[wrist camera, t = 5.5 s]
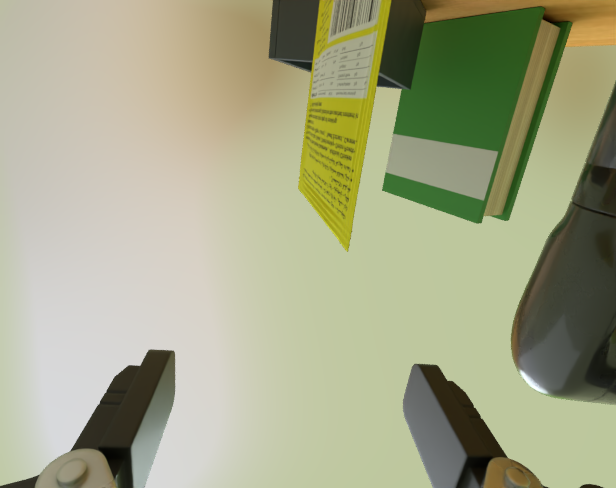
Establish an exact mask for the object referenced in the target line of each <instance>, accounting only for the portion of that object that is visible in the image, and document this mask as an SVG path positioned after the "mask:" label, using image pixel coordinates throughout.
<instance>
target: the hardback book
mask: <svg viewBox="0 0 616 488" xmlns="http://www.w3.org/2000/svg"><path fill="white" fill-rule="evenodd" d="M544 11H545V8H543V7H535V8H528V9H521V10H514V11H507V12H500V13H493V14H486V15H479V16H472V17H466V18H459V19H452V20H445V21H438V22H431V23H424V26H423V31H422V36H421V41H420V46H419V51H418V56H417V61H416V66H415V71H414V76H413V80H412V85H411V90H408V89H402V91H401V96H400V102H399V106H398V112H397V117H396V122H395V127H394V132H393V137H392V142H391V147H390V153H389V158H388V163H387V168H386V173H385V178H384V184H383V189H382V191H385V192H388V193H391V194H394V195H397V196H400V197H403V198H405V199H408V200H411V201H414V202H417V203H420V204H423V205H426V206H428V207H431V208H434V209H437V210H440V211H443V212H446V213H448V214H452V215H455V216H457V217H460V218H463V219H466V220H469V221H471V222H474V223H482V219H483V216H492V217H495V218H498V219H501V220H504V221H508V220H509V218H510V215H511V212H512V208H513V206H514V202H515V199H516V196H517V193H518V190H519V187H520V184H521V181H522V178H523V175H524V172H525V169H526V165H527V162H528V159H529V156H530V153H531V150H532V147H533V144H534V141H535V137H536V135H537V131H538V128H539V125H540V122H541V119H542V116H543V113H544V110H545V107H546V104H547V101H548V97H549V94H550V91H551V88H552V85H553V82H554V79H555V76H556V73H557V70H558V67H559V63H560V61H561V57H562V54H563V51H564V48H565V45H566V42H567V39H568V36H569V33H570V30H571V27H572V24H573V23H571V22H569V21H567V22H558V23H549V22H547V21H545V20H543V19H542V18H543V15H544Z"/></svg>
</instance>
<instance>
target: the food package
mask: <svg viewBox="0 0 616 488" xmlns="http://www.w3.org/2000/svg"><path fill="white" fill-rule="evenodd" d="M390 6H391V0H320V3H319V12H318V20H317V29H316V38H315V46H314V55H313V63H312V72H311V81H310V89H309V98H308V106H307V115H306V123H305V132H304V140H303V148H302V157H301V166H300V177H299V186H298V189H299V190H300V192H301V193H302V194H303V195H304V196H305V198H306V199H307V200H308V201H309V203H310V204H311V205H312V207H313V208H314V209H315V210H316V211H317V213H318V214H319V216H320V217H321V218H322V219H323V221H324V222H325V223H326V225H327V226H328V227H329V229H330V230H331V231H332V232H333V234H334V235H335V236H336V237H337V239H338V240H339V242H340V244H342V246H343V247H344V248H345V250H346V251H347V252H348V248H349V242H350V239H351V232H352V225H353V218H354V212H355V206H356V200H357V194H358V188H359V183H360V177H361V171H362V166H363V160H364V155H365V149H366V144H367V138H368V132H369V127H370V121H371V115H372V109H373V104H374V98H375V92H376V86H377V81H378V75H379V69H380V64H381V58H382V52H383V46H384V41H385V35H386V29H387V23H388V18H389V12H390Z"/></svg>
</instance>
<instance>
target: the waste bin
mask: <svg viewBox="0 0 616 488" xmlns="http://www.w3.org/2000/svg"><path fill="white" fill-rule="evenodd" d="M319 3H320V0H273V8H272V21H271V34H270V48H269V58H270V59H273V60H276V61H279V62H282V63H285V64H288V65H291V66H294V67H296V68H299V69H302V70H305V71H308V72H312V63H313V55H314V46H315V38H316V29H317V20H318V12H319ZM425 16H426V10H425V8H424V6H423V4H422V2H421V0H391V6H390V12H389V18H388V23H387V29H386V35H385V41H384V46H383V52H382V58H381V64H380V69H379V75H378V81H377V87H387V88H398V89H408V90H411V85H412V80H413V76H414V71H415V66H416V61H417V56H418V51H419V46H420V41H421V36H422V31H423V26H424V21H425Z"/></svg>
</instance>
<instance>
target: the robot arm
mask: <svg viewBox="0 0 616 488" xmlns="http://www.w3.org/2000/svg"><path fill="white" fill-rule="evenodd" d="M585 162H586V163H585V164H584V167H583V169H582V172H581V175H580V177H579V180H578V182H577V186H576V188H575V190H574V193H573V196H572V201H571V202H570V204H569V207H568V209H567V211H566V214H565V216H564V217H563V219H562V220H561V221H560V222H559V223H558V224H557V226H556V227H555V228H554V229H553V231H552V232H551V233H550V235H549V236H548V238H547V240H546V243H545V245H544V247H543V250H542V252H541V255H540V257H539V259H538V261H537V264H536V266H535V269H534V271H533V273H532V275H531V277H530V280H529V282H528V284H527V286H526V288H525V291H524V293H523V296H522V298H521V300H520V302H519V305H518V308H517V311H516V314H515V318H514V321H513V326H512V333H511V350H512V357H513V360H514V363H515V366H516V368H517V371H518V372H519V374H520V376H521V377H522V378H523V380H525V382H526V383H527V384H528V385H529V386H530V387H531V388H533V389H534V390H536V391H538V392H540V393H541V394H544V395H547V396H550V397H554V398H560V399H566V400H575V401H583V402H593V403H601V404H610V405H616V81H615V84H614V87H613V89H612V92H611V95H610V97H609V100H608V102H607V105H606V108H605V110H604V113H603V116H602V118H601V121H600V124H599V126H598V129H597V132H596V134H595V137H594V140H593V142H592V145H591V148H590V150H589V153H588V156H587V158H586V161H585ZM174 395H175V353H174V351H168V350H167V351H166V350H149V351H148V352H147V354H146V356H145V358H144V360H143V362H142V364H141V366H132V365H129V366H128V367H126V368H125V369H124V370H123V371H121V372H120V373H119V374H118V375H116V376H115V377H114V379H113V381H112V382H111V384H110V386H109V388H108V389H107V392H106V393H105V394H104V396H103V398H102V399H101V401H100V404H99V405H98V406H97V408H96V409H95V411H94V413H93V414H92V416H91V418H90V420H89V421H88V423H87V425H86V426H85V428H84V430H83V431H82V433H81V434H80V436H79V438H78V439H77V441H76V443H75V445H74V446H73V448H72V449H71V451H70V452H68V453H66V454H64V455H62V456H60V457H58V458H57V459H55V460H54V461H52V462H51V463H50V464H49V465H48V466H47V467H46V468H45V469H44V470H43V471H42V473H41V474H40V475H38V476H35V477H33V478H29V479H26V480H22V481H19V482H14V483H10V484H6V485H3V486H0V488H144V487H145V484H146V481H147V479H148V476H149V473H150V470H151V467H152V464H153V461H154V459H155V455H156V453H157V450H158V447H159V444H160V441H161V438H162V436H163V433H164V430H165V427H166V424H167V421H168V418H169V415H170V412H171V409H172V406H173V402H174ZM403 412H404V416H405V419H406V422H407V424H408V427H409V429H410V432H411V434H412V437H413V439H414V442H415V444H416V447H417V449H418V451H419V454H420V456H421V459H422V462H423V464H424V466H425V469H426V471H427V474H428V476H429V479H430V481H431V484H432V486H433V488H548V487H545V486H543V485H542V484H541V482H540V481H539V479H538V478H537V477H536V476H535V475H534V474H533V473H532V472H531V471H530V470H529V469H528V468H526V467H525V466H523V465H522V464H520V463H518V462H516V461H514V460H511V459H509V458H508V457H507V456H506V454H505V453H504V451H503V450H502V448H501V447H500V445H499V444H498V442H497V441H496V439H495V437H494V436H493V434H492V433H491V431H490V430H489V428H488V427H487V425H486V424H485V422H484V420H483V419H481V416H480V414H479V413H478V411H477V410H476V408H474V405H473V403H472V402H471V400H470V399H469V397H468V396H467V394H466V393H465V392H464V391H463V390H462V389H461V388H460V387H459V386H457V385H456V384H455V383H454V382H453V381H447V379H446V378H445V376H444V375H443V373H442V372H441V370H440V368H439V367H438V366H437V365H428V364H414V365H413V367H412V369H411V373H410V377H409V380H408V384H407V387H406V392H405V395H404V399H403ZM580 488H603V487H600V486H597V485H592V484H586V485H583V486H581V487H580Z"/></svg>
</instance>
